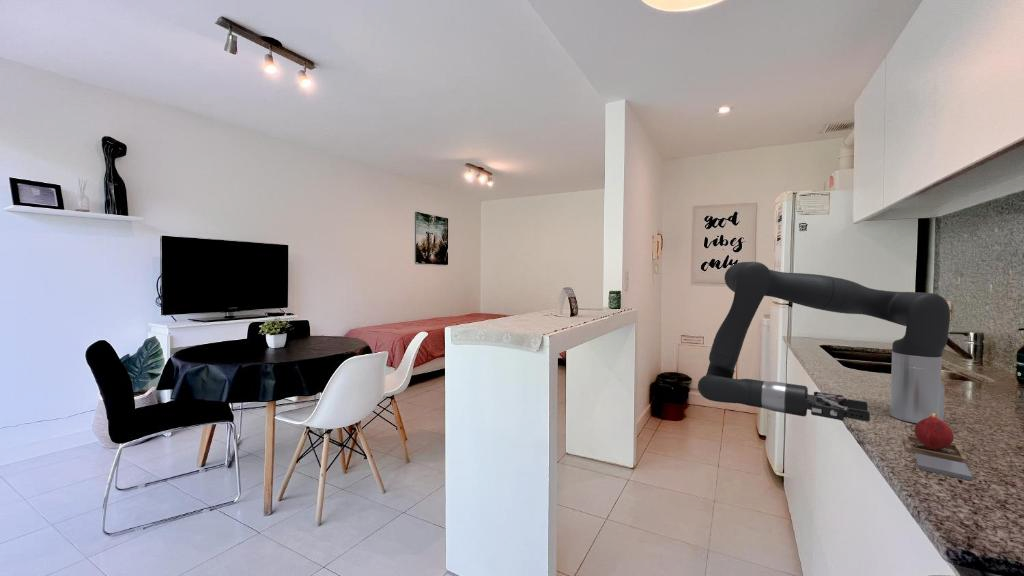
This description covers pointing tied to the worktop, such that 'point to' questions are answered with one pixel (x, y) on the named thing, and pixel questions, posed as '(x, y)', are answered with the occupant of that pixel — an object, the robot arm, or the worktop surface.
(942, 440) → the onion
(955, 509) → the worktop surface
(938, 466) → the coaster
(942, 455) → the square wooden frame
